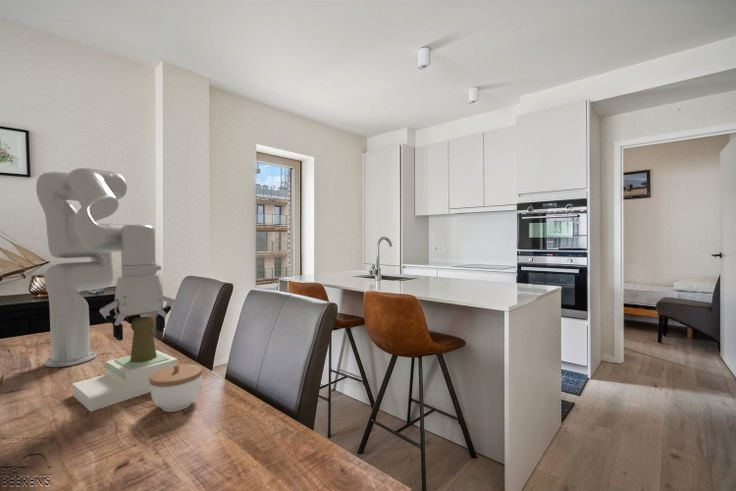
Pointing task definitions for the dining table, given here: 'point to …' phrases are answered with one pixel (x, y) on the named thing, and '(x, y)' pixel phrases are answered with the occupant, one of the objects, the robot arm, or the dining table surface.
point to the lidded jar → (175, 386)
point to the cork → (143, 340)
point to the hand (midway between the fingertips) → (140, 335)
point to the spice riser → (120, 381)
